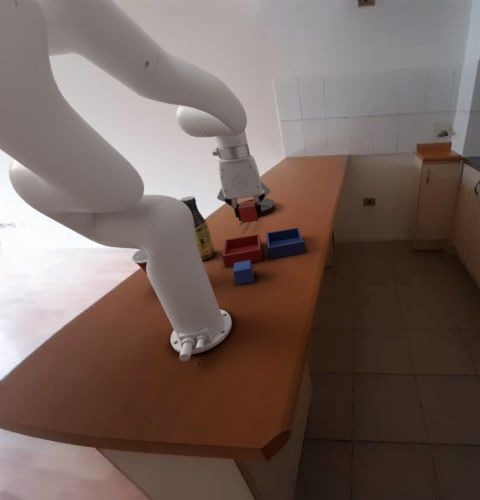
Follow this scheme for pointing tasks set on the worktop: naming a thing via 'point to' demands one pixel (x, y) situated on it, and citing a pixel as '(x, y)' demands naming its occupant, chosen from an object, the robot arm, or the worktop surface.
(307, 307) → the worktop surface
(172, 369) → the worktop surface
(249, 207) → the red block
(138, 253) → the plastic cup
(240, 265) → the blue block
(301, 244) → the blue bin
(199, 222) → the sauce bottle
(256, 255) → the red bin
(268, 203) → the frying pan
